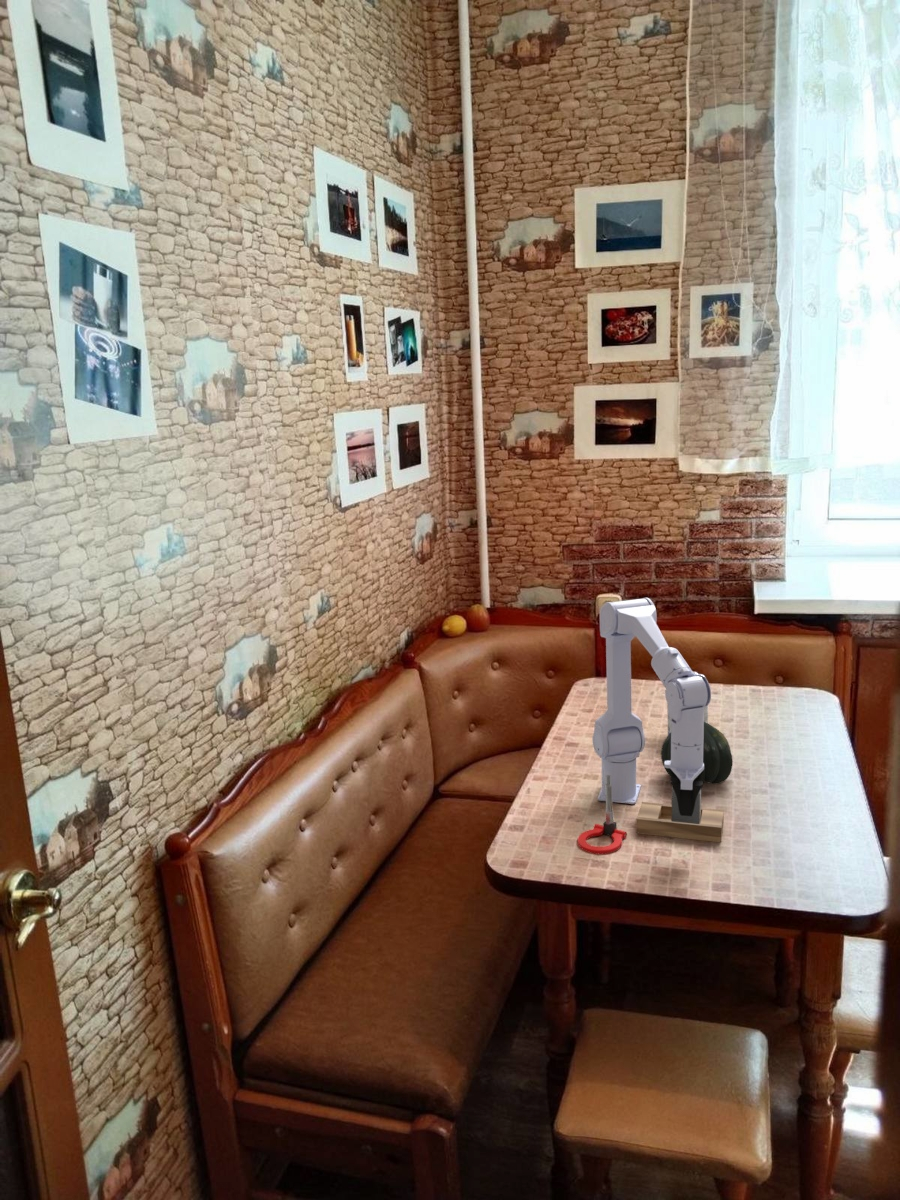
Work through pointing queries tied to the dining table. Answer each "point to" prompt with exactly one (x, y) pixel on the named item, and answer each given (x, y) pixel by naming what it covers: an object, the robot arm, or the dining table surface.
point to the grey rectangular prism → (686, 819)
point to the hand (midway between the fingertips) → (686, 810)
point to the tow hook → (604, 828)
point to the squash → (708, 755)
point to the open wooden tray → (679, 823)
